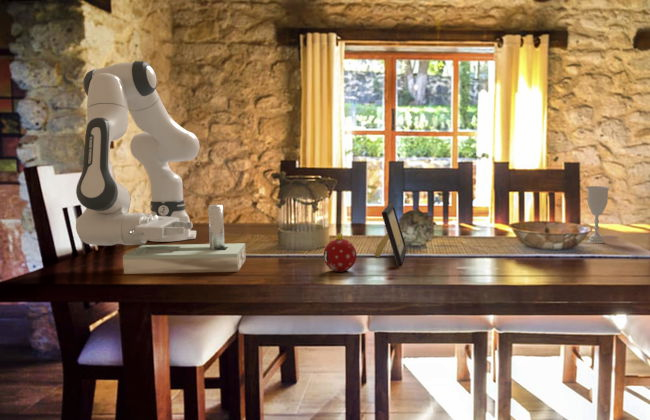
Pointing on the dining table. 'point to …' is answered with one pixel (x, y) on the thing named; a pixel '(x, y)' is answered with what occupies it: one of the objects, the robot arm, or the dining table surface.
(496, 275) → the dining table surface
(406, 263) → the dining table surface
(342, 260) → the christmas ornament
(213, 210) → the keyhole peg
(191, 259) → the keyhole board
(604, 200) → the chalice
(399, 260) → the picture frame
